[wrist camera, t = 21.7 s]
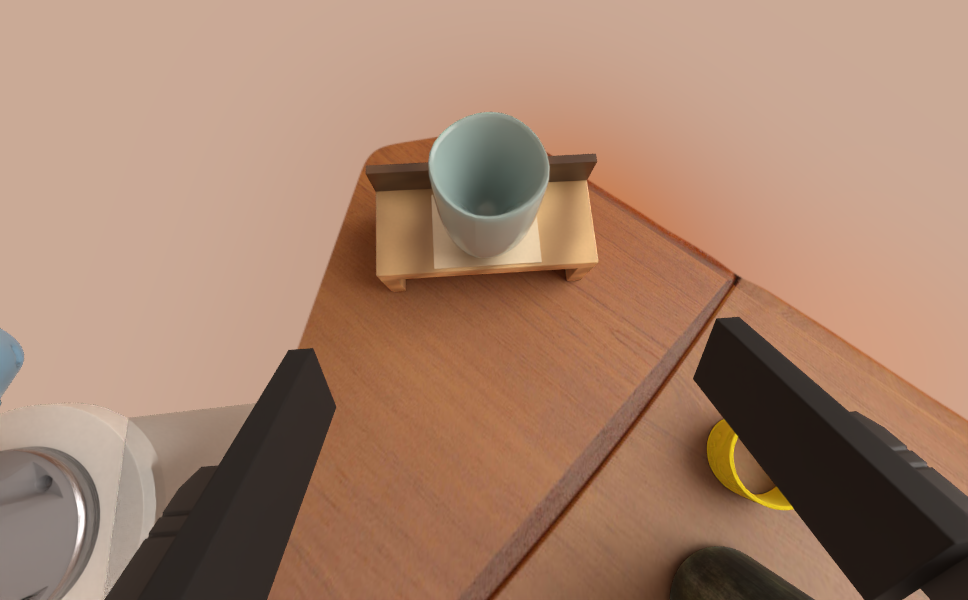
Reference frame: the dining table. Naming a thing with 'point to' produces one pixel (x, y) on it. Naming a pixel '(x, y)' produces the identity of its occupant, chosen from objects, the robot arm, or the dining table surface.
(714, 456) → the bracelet
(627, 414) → the dining table surface
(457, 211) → the cup
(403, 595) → the dining table surface
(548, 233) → the shelf
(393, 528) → the dining table surface
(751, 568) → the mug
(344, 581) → the dining table surface
